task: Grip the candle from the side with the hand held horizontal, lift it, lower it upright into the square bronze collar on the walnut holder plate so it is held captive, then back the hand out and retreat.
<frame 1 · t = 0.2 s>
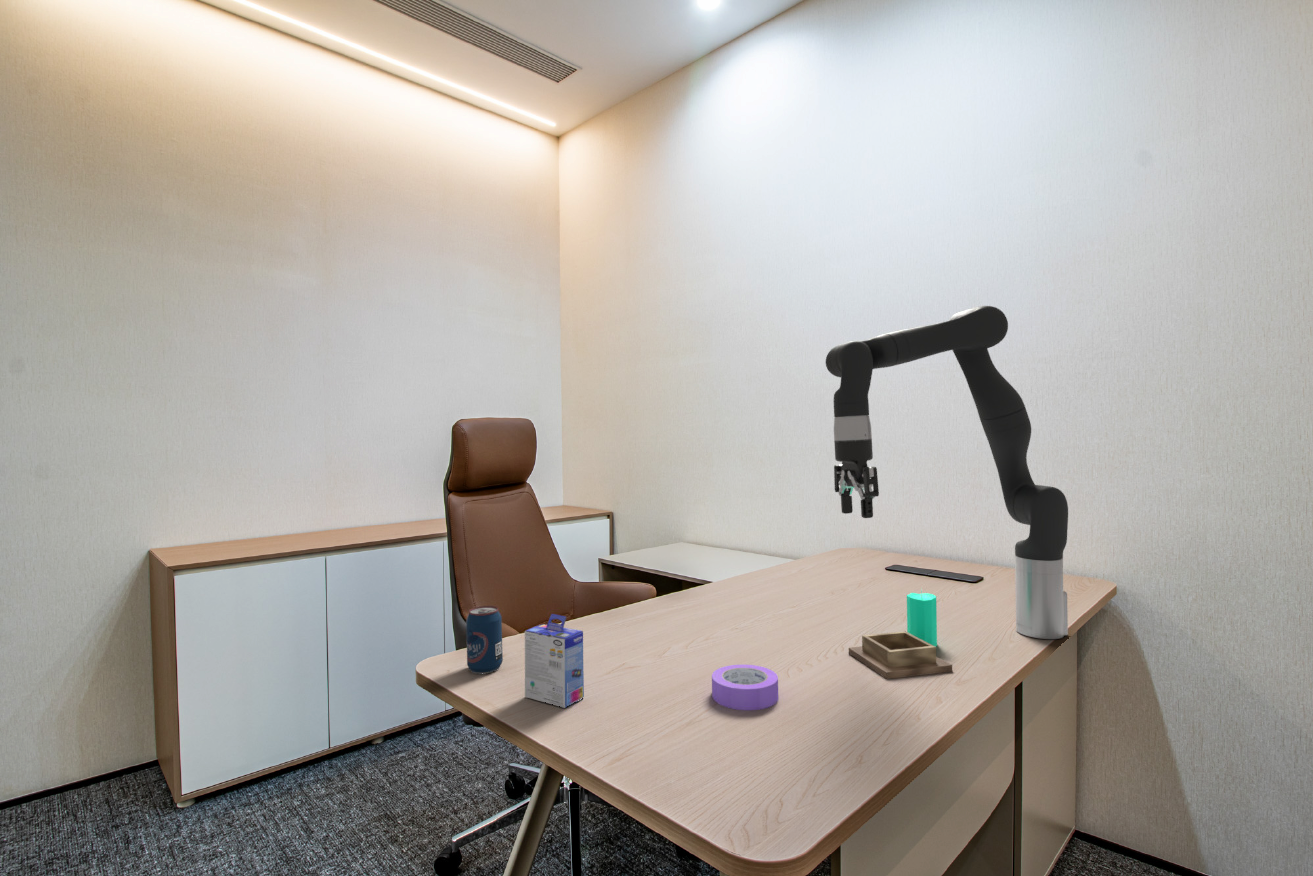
hand: (856, 515, 133), 29 cm above the table, tool pointing down, fingers open, 8 cm apart
ink cartridge box: (555, 699, 114), on the table
candle: (922, 644, 137), on the table
candle holder: (898, 662, 127), on the table
masking tape: (745, 698, 113), on the table
soda can: (485, 669, 128), on the table
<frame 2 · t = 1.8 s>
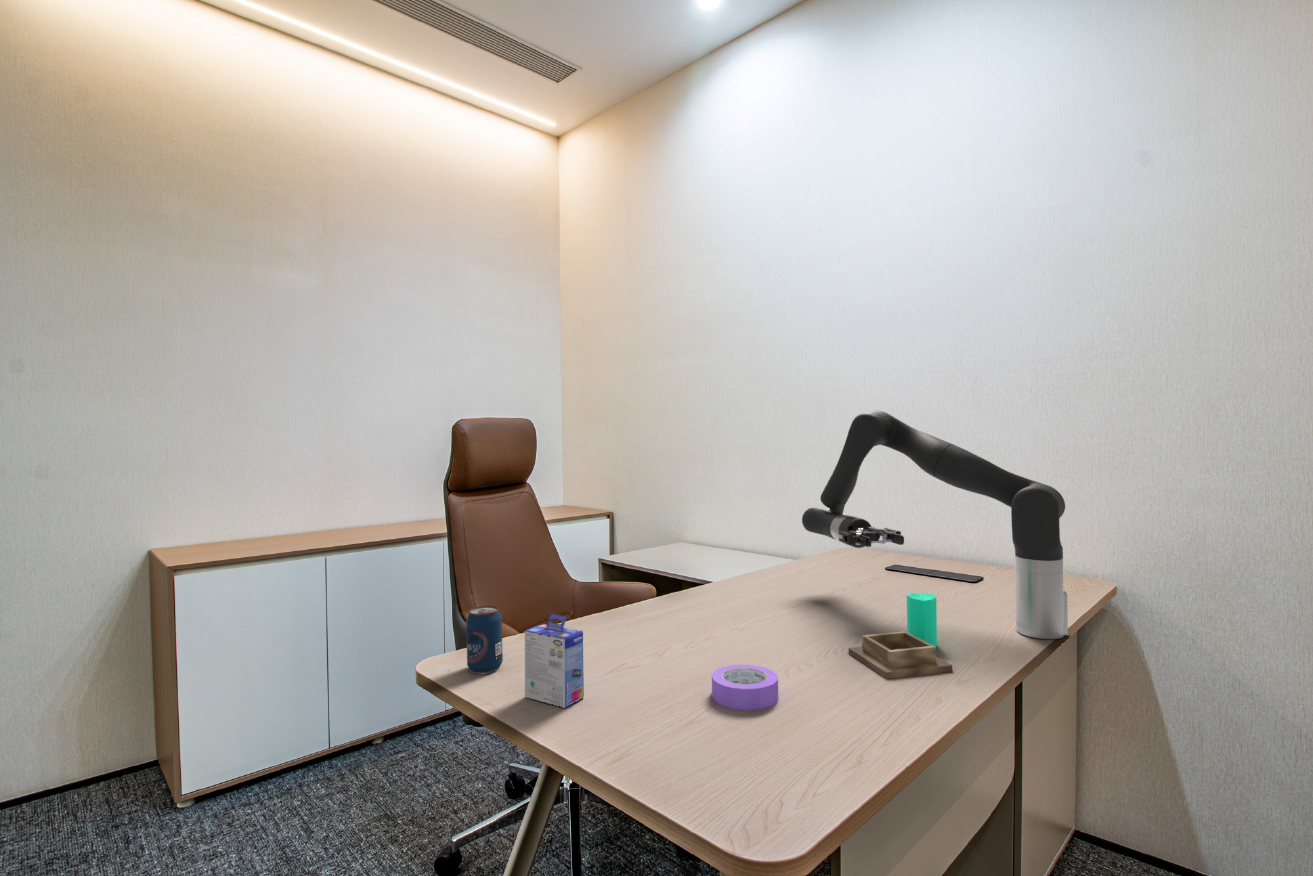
hand: (886, 541, 150), 20 cm above the table, tool horizontal, fingers open, 8 cm apart
nothing on the table moved.
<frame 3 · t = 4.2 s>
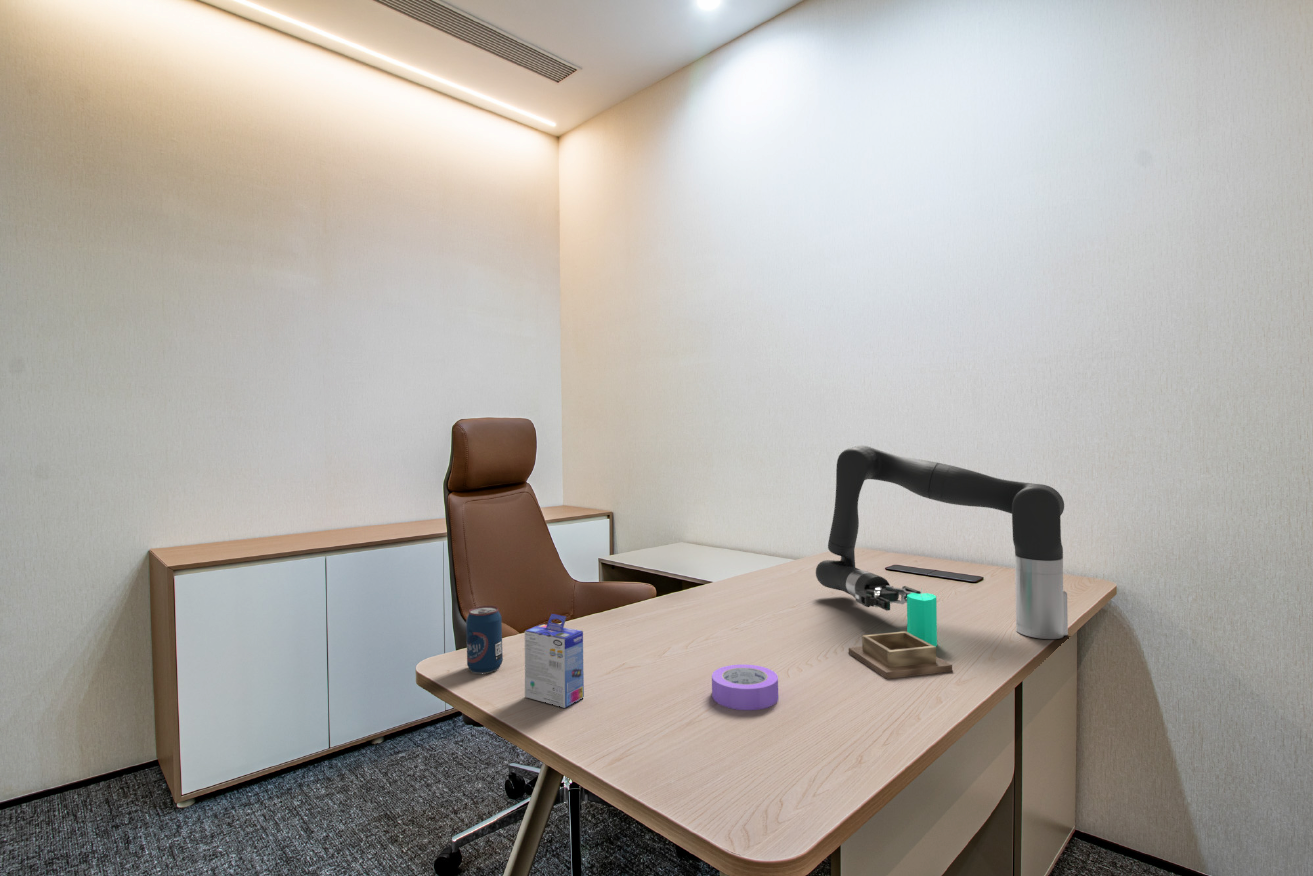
hand: (906, 604, 143), 7 cm above the table, tool horizontal, fingers open, 8 cm apart
nothing on the table moved.
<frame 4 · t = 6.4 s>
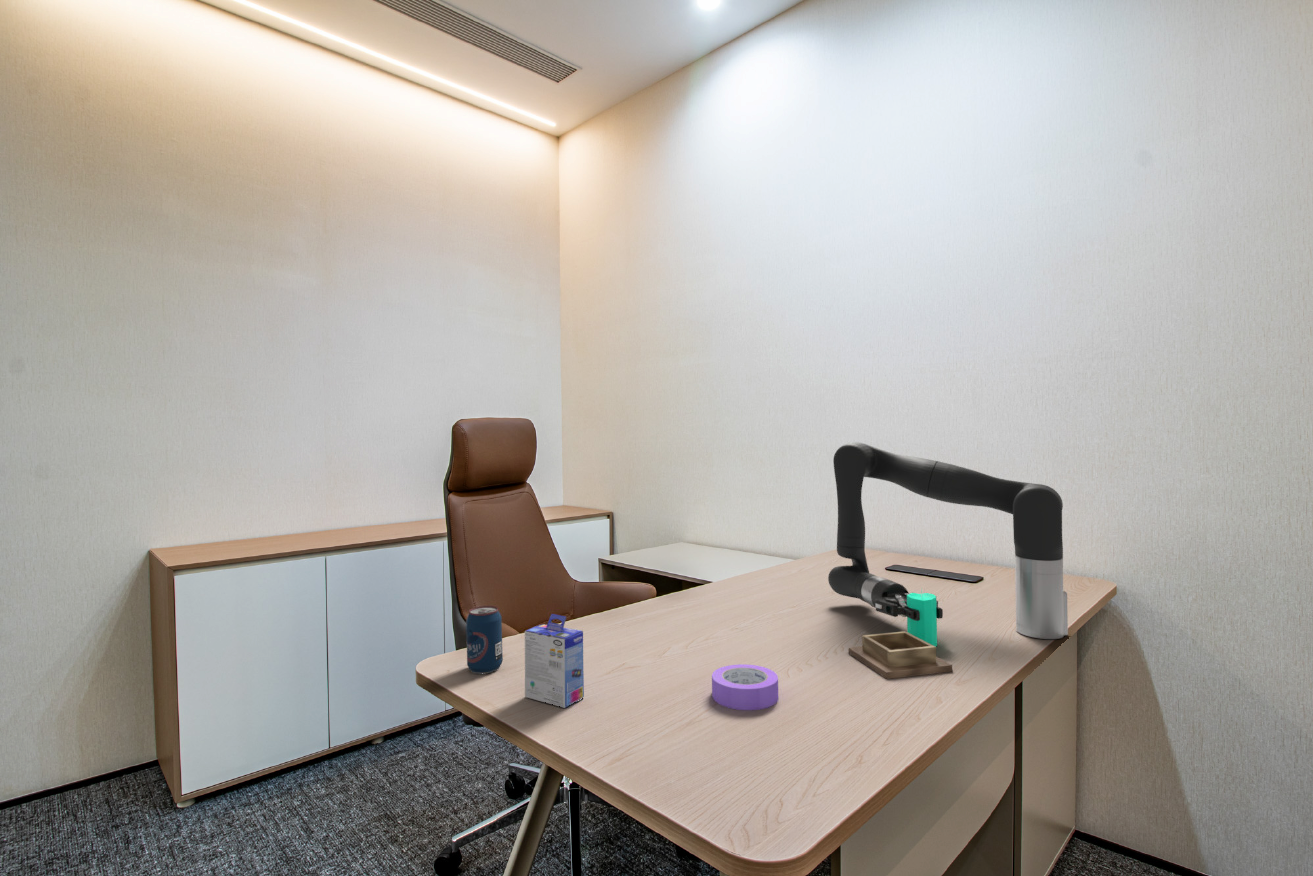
hand: (929, 614, 135), 7 cm above the table, tool horizontal, fingers closed on candle, 5 cm apart
candle: (922, 644, 137), on the table, touching gripper
everything else where it was.
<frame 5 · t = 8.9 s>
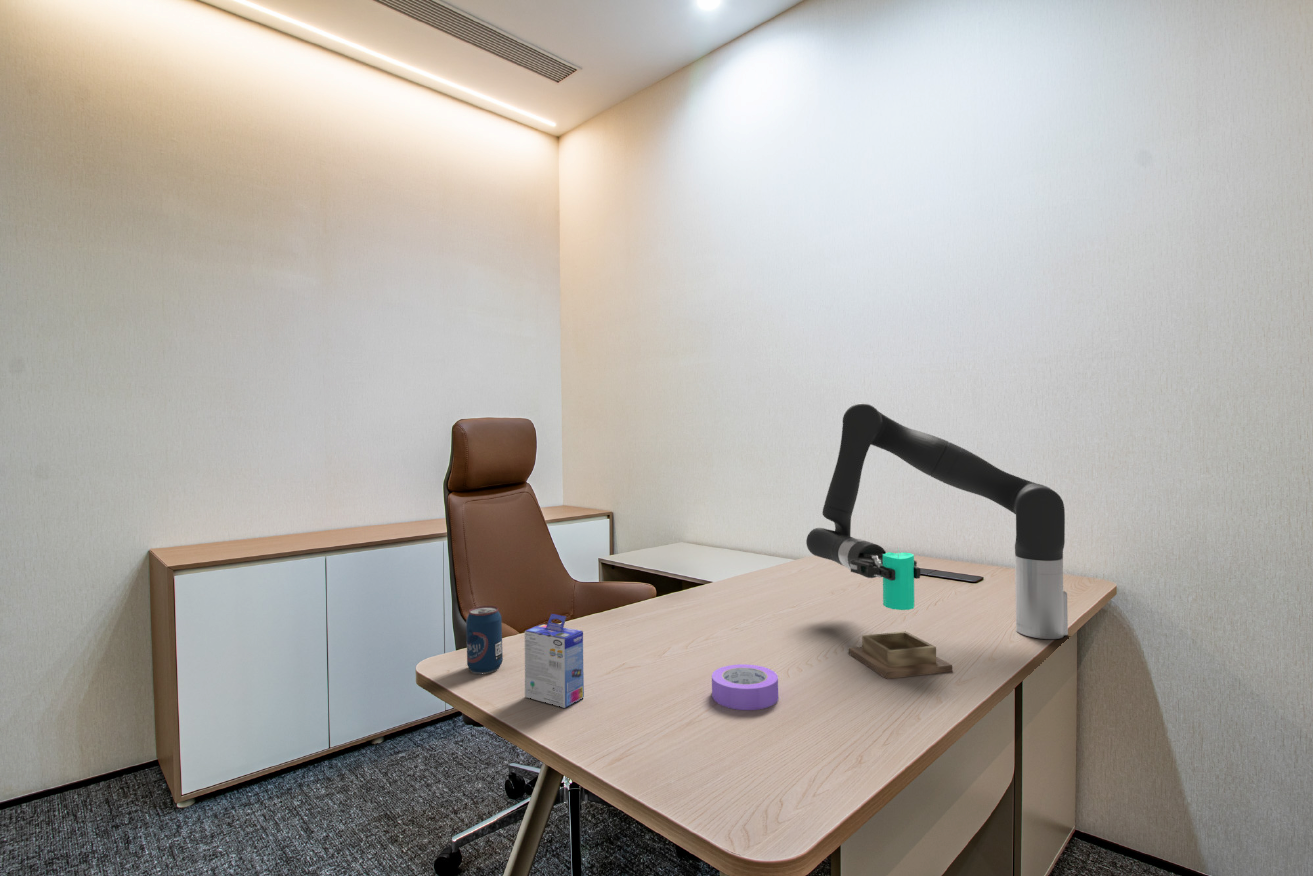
hand: (906, 574, 126), 18 cm above the table, tool horizontal, fingers closed on candle, 5 cm apart
candle: (898, 606, 129), point 10 cm above the table, touching gripper
everything else where it was.
when the fingers open (9 cm above the table, at t = 11.6 s): candle drops 1 cm, resting on candle holder.
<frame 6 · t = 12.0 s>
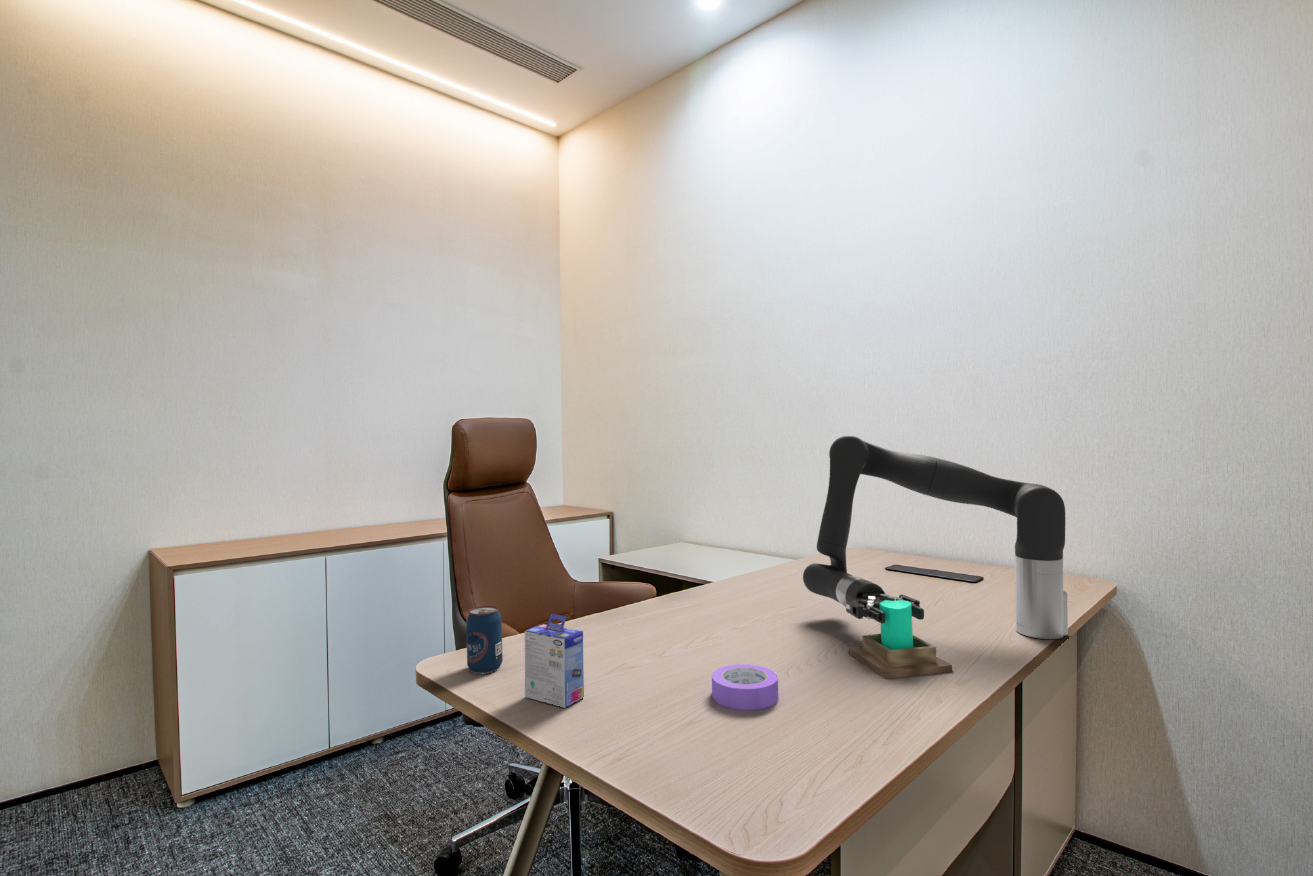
hand: (903, 616, 125), 10 cm above the table, tool horizontal, fingers open, 8 cm apart
candle: (897, 656, 127), point 1 cm above the table, touching candle holder
everything else where it was.
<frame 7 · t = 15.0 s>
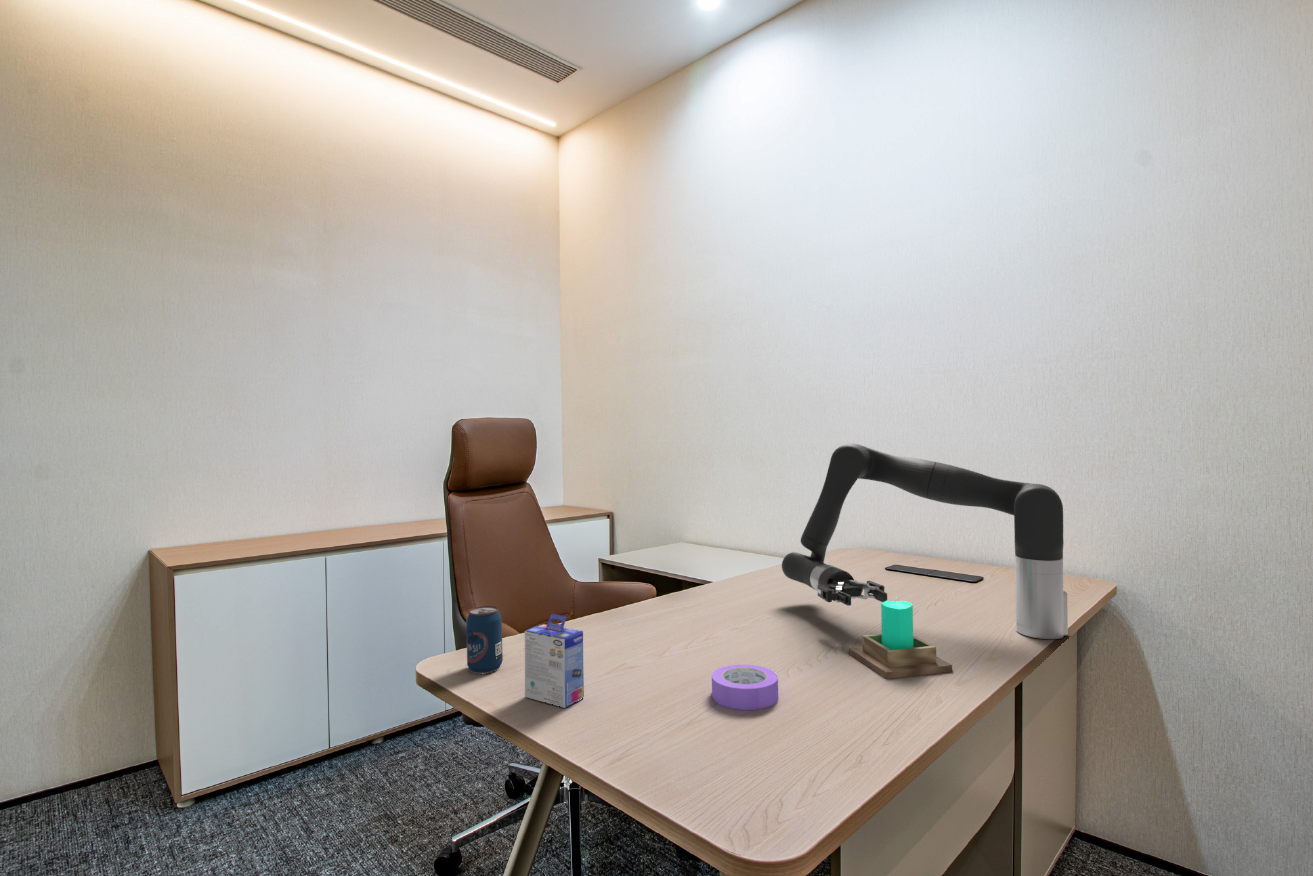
hand: (867, 599, 138), 10 cm above the table, tool horizontal, fingers open, 8 cm apart
nothing on the table moved.
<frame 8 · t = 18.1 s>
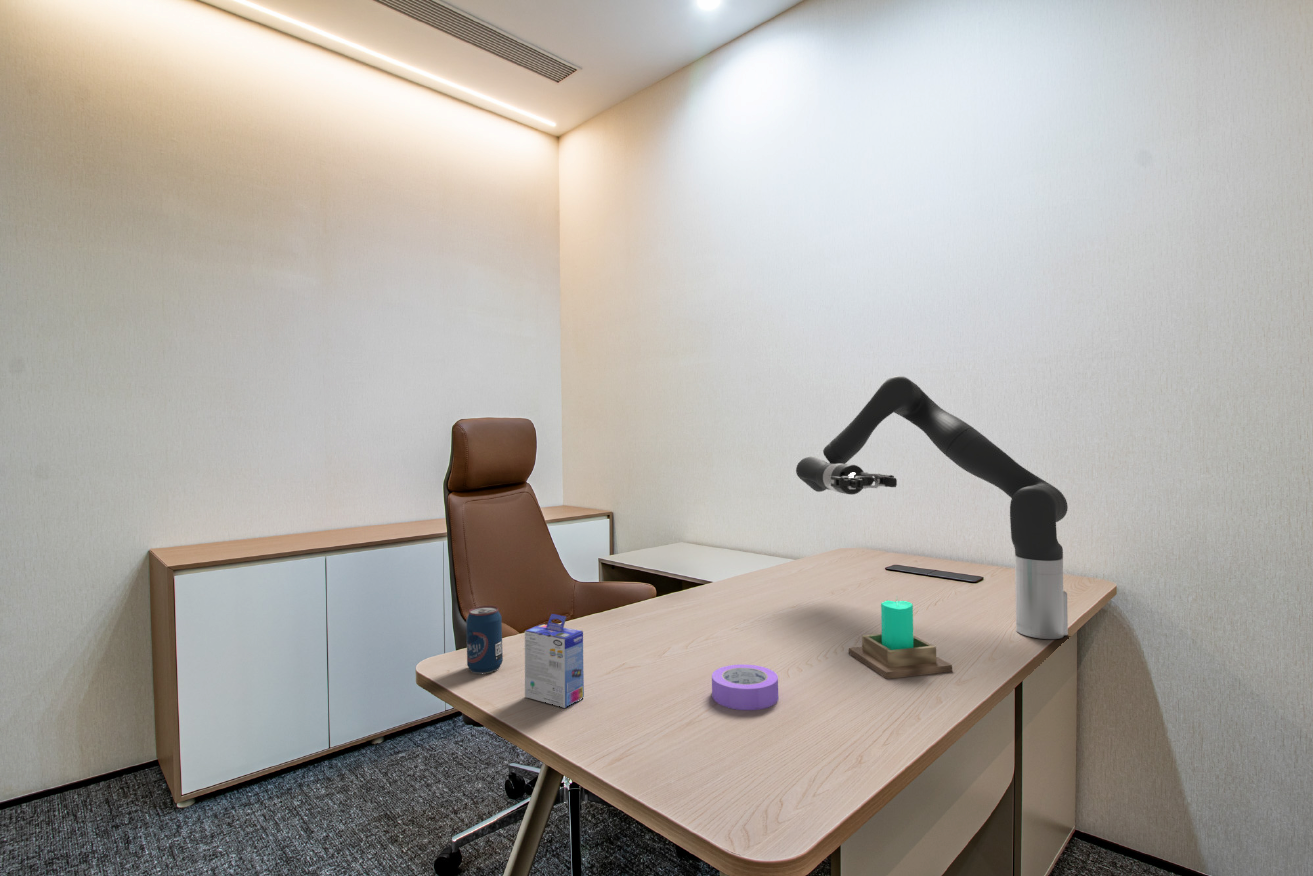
hand: (878, 483, 147), 34 cm above the table, tool horizontal, fingers open, 8 cm apart
nothing on the table moved.
at the end: candle 0.1 cm off-centre on the candle holder, point 1.0 cm above the candle holder's base; candle tilted 0°; the gripper is holding nothing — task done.
